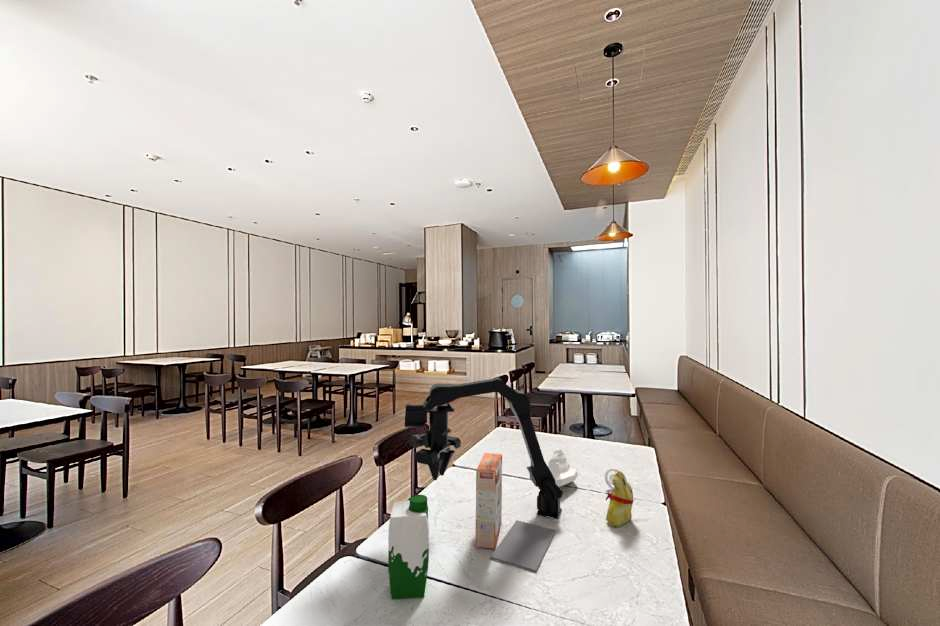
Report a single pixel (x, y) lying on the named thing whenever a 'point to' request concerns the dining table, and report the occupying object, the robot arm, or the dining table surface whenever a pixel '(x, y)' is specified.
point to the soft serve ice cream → (561, 468)
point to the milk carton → (408, 548)
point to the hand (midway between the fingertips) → (438, 477)
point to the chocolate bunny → (620, 501)
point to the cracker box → (488, 500)
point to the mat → (524, 545)
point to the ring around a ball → (611, 477)
